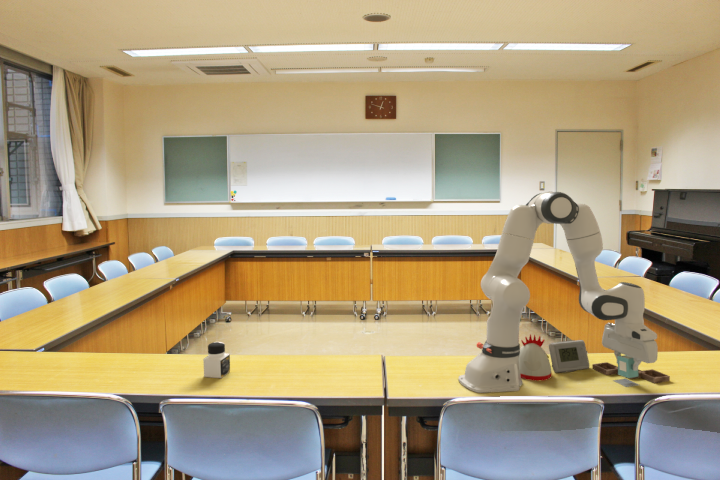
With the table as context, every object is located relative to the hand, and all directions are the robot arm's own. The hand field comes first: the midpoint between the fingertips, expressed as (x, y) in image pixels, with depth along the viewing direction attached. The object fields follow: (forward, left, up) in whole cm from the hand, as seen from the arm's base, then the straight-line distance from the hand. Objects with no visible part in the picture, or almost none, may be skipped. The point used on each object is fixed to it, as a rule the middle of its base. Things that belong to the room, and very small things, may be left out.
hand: (627, 367), depth 165 cm
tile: (0, 0, -6) cm, 6 cm away
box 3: (+12, 0, -6) cm, 14 cm away
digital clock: (-9, +18, -6) cm, 21 cm away
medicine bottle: (-139, +54, -6) cm, 149 cm away
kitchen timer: (-26, +19, -6) cm, 32 cm away
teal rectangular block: (0, 0, -3) cm, 3 cm away
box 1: (+2, +11, -6) cm, 13 cm away
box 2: (+7, +6, -6) cm, 11 cm away
